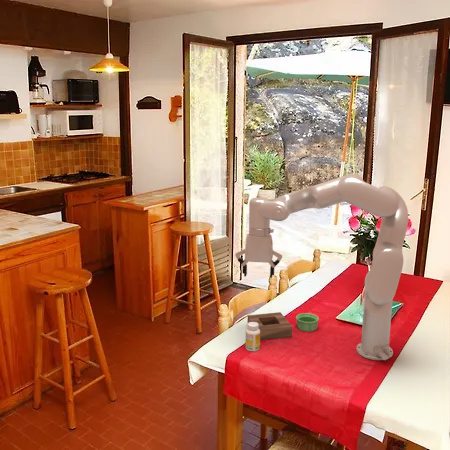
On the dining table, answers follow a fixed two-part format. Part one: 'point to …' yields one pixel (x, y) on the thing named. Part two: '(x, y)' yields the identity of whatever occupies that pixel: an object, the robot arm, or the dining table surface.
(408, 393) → the dining table surface
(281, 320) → the walnut holder
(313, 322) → the ramekin
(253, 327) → the supplement bottle
